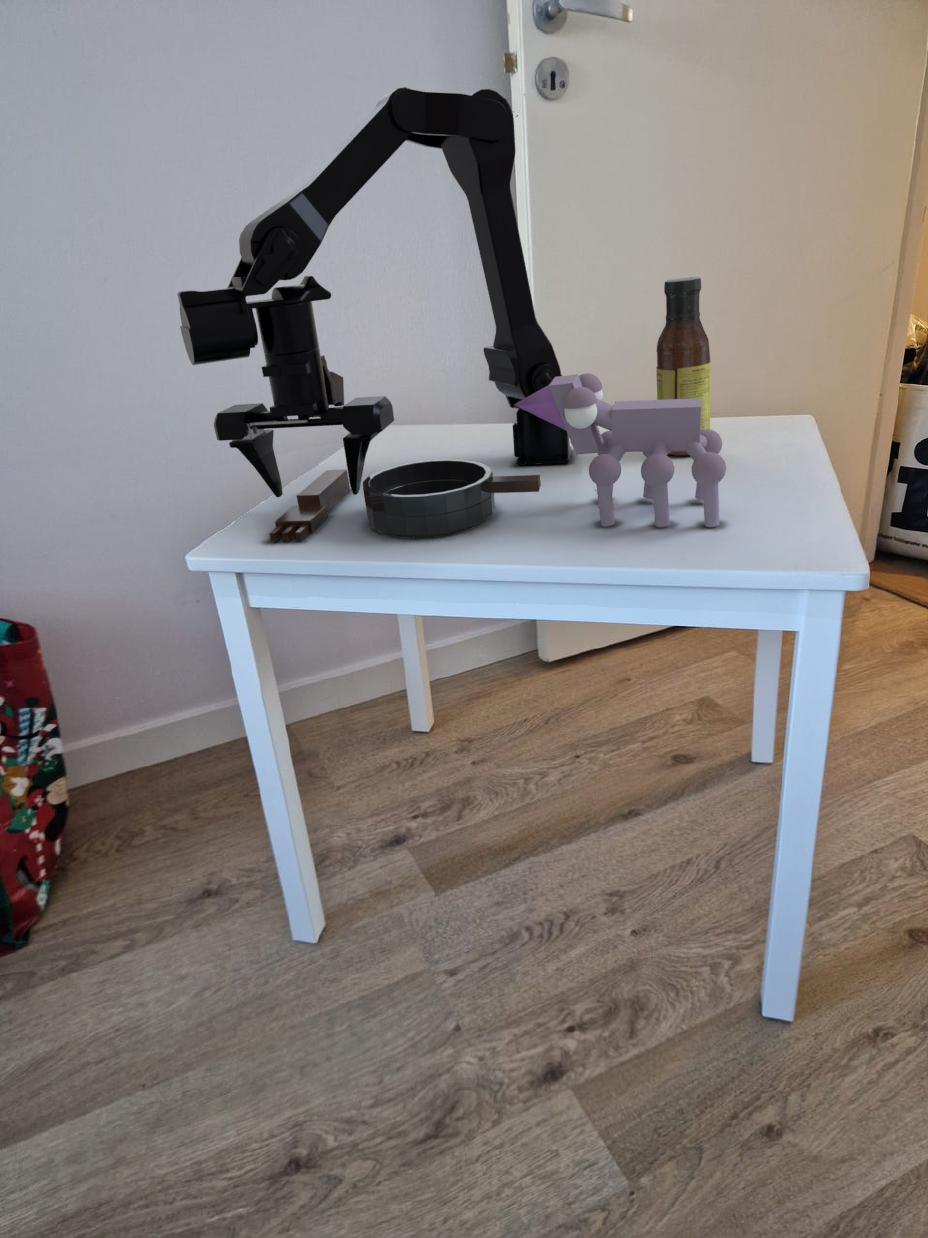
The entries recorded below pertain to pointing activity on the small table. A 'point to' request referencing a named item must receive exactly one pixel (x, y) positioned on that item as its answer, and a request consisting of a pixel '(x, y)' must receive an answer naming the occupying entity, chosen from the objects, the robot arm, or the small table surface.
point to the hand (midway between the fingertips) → (317, 494)
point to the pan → (429, 498)
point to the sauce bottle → (684, 349)
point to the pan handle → (515, 484)
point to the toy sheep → (633, 441)
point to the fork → (311, 506)
